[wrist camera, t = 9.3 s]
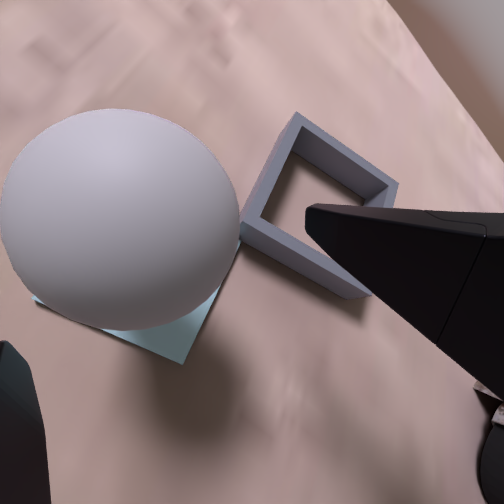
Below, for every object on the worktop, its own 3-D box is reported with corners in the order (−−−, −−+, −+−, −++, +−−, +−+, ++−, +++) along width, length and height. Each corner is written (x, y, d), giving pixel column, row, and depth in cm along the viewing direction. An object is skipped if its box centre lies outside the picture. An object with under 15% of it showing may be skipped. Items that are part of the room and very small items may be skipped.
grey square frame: (346, 299, 21) (371, 295, 18) (230, 234, 19) (242, 221, 16) (374, 197, 24) (398, 183, 22) (280, 133, 22) (296, 111, 20)
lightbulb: (63, 223, 15) (-55, 8, 5) (181, 220, 17) (253, 74, 8) (67, 344, 14) (-80, 365, 4) (194, 322, 16) (299, 301, 6)
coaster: (181, 364, 16) (182, 364, 15) (33, 299, 14) (31, 298, 14) (239, 242, 19) (241, 241, 18) (123, 178, 17) (123, 174, 17)
